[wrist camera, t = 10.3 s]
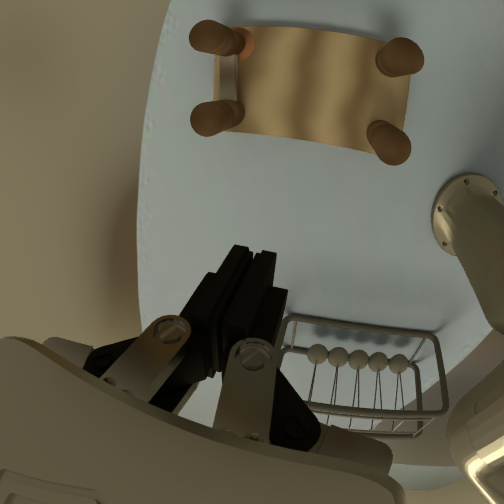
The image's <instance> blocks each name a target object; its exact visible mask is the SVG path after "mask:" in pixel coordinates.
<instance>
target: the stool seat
mask: <svg viewBox="0 0 504 504" xmlns="http://www.w3.org/2000/svg"><path fill="white" fill-rule="evenodd" d="M229 28H231V29H233V30H235V31H237V32H239V33H240V34H242V35H243V37H244V39H245V48H244V50H243V51H242V52H241V53H240V54H239V55H238V101H239V102H240V103H241V104H242V105H243V107H244V111H245V116H244V119H243V121H242V122H241V123H240V124H239V125H237V126H235V127H232V128H230V129H227V130H225V131H230V132H242V133H253V134H262V135H271V136H279V137H286V138H294V139H300V140H307V141H313V142H319V143H325V144H330V145H335V146H341V147H346V148H351V149H355V150H360V151H364V152H369V153H373V154H377V156H378V157H379V159H380V160H381V161H383V162H384V163H386V164H388V165H400V164H402V163H404V162H405V161H406V160H407V159H408V157H409V156H410V153H411V142H410V140H409V138H408V136H407V135H406V134H405V133H404V132H403V125H404V119H405V113H406V106H407V99H408V92H409V83H410V74H414V73H417V72H419V71H420V70H421V69H422V67H423V65H424V55H423V52H422V50H421V49H420V47H419V46H418V45H417V44H416V43H415V42H413V41H412V40H410V39H407V38H402V37H399V38H395V39H393V40H391V41H390V42H389V43H387V42H383V41H379V40H374V39H370V38H365V37H360V36H355V35H350V34H344V33H338V32H331V31H324V30H315V29H306V28H293V27H274V26H238V27H229ZM218 100H220V56H219V55H215V71H214V99H213V101H218Z"/></svg>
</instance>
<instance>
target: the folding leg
mask: <svg viewBox="0 0 504 504" xmlns="http://www.w3.org/2000/svg"><path fill="white" fill-rule="evenodd" d="M189 42H190V44H191V46H192V47H193V48H194V49H195V50H197V51H200V52H205V53H210V54H215V55H219V56H220V100H218V101H211V102H205V103H201V104H199V105H197V106H196V107H195V108H194V109H193V111H192V113H191V116H190V122H191V126H192V128H193V129H194V131H195V132H196V133H197V134H199V135H201V136H205V137H209V136H213V135H215V134H218V133H220V132H222V131H225V130H227V129H230V128H232V127H235V126H237V125H239V124H240V123H241V122H242V121H243V119H244V116H245V111H244V107H243V105H242V104H241V103H240V102H239V101H238V55H239V54H240V53H241V52H242V51H243V50H244V48H245V39H244V37H243V35H242V34H240V33H239V32H237V31H235V30H233V29H231V28H229V27H227V26H224V25H222V24H220V23H218V22H216V21H213V20H203V21H201V22H199V23H197V24H196V25H195V26H194V27H193V28H192V29H191V31H190V34H189Z"/></svg>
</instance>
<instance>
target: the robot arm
mask: <svg viewBox="0 0 504 504" xmlns="http://www.w3.org/2000/svg"><path fill="white" fill-rule="evenodd" d="M464 180H465V181H464ZM439 206H440V207H439ZM438 207H439V208H438ZM431 225H432V231H433V233H434V236H435V238H436V240H437V242H438V244H439V245H440V246H441V248H442V249H444V250H445V251H446V252H447V253H449V254H451V255H454V256H457V257H458V259H459V261H460V263H461V265H462V267H463V269H464V271H465V273H466V275H467V277H468V279H469V281H470V283H471V285H472V288H473V290H474V292H475V294H476V296H477V299H478V301H479V303H480V306H481V308H482V310H483V313H484V315H485V317H486V319H487V321H488V323H489V324H490V325H491V327H492V328H493V329H495V330H496V331H497V332H499V333H500V334H503V335H504V204H503V199H502V196H501V194H500V191H499V190H498V188H497V187H496V185H495V184H494V183H493V182H491V181H490V180H489V179H488V178H486V177H485V176H482V175H480V174H475V173H468V174H463V175H460V176H457V177H455V178H454V179H452V180H451V181H449V182H448V183H447V184H446V185H445V186H444V187H443V188H442V190H441V191H440V192H439V194H438V196H437V198H436V200H435V203H434V205H433V209H432V214H431ZM276 256H277V253H275V252H270V251H265V250H262V252H261V253H256V254H255V256H254V258H253V252H251V251H249V248H248V247H245V246H240V245H234V246H233V247H232V249H231V250H230V252H229V254H228V255H227V257H226V258H225V260H224V261H223V263H222V265H221V266H220V268H219V269H218V271H217V272H216V273H212V272H208V273H207V274H206V275H205V277H204V278H203V280H202V281H201V283H200V284H199V286H198V287H197V289H196V290H195V292H194V293H193V295H192V296H191V298H190V299H189V301H188V302H187V304H186V305H185V307H184V308H183V310H182V312H181V313H180V315H179V316H176V315H166V316H162V317H160V318H157V319H156V320H155V321H153V322H152V323H151V324H150V325H149V326H148V327H147V328H146V330H145V331H144V332H143V333H142V334H141V335H140V336H139V337H135V338H132V339H128V340H124V341H121V342H117V343H114V344H110V345H106V346H102V347H100V348H97V349H94V348H93V346H89V345H85V344H81V343H77V342H74V341H70V340H66V339H62V338H59V337H52V338H48V339H47V340H46V341H44V343H43V344H40V343H38V342H36V341H34V340H31V339H27V338H23V337H16V336H13V337H12V336H9V337H4V338H1V339H0V504H407V499H406V494H405V492H404V489H403V488H402V486H401V485H400V484H399V483H398V482H397V481H396V480H394V479H393V478H391V477H390V476H388V473H389V470H390V467H391V464H392V460H393V454H392V451H391V449H390V447H389V446H388V445H387V444H385V443H383V442H381V441H378V440H375V439H372V438H369V437H365V436H362V435H359V434H357V433H354V432H351V431H348V430H345V429H342V428H340V427H337V426H334V425H331V426H328V425H325V424H323V423H320V422H319V421H318V419H317V418H316V416H315V415H314V414H313V413H312V411H311V410H310V409H309V408H308V406H307V405H306V404H305V402H304V401H303V400H302V399H301V397H300V396H299V395H298V393H297V392H296V391H295V390H294V388H293V387H292V386H291V384H290V383H289V382H288V380H287V379H286V378H285V376H284V375H283V374H282V372H281V371H280V370H279V368H278V367H277V353H276V351H275V349H274V346H275V343H276V339H277V336H278V332H279V329H280V325H281V322H282V318H283V314H284V310H285V305H286V300H287V294H288V290H287V289H282V288H278V287H273V280H274V272H275V264H276ZM216 371H217V372H221V371H222V388H221V393H220V397H219V401H218V406H217V410H216V414H215V419H214V423H213V427H212V428H211V427H208V426H205V425H202V424H199V423H196V422H193V421H191V420H188V419H185V418H183V417H180V416H178V413H179V412H180V411H181V409H182V408H183V406H184V405H185V404H186V402H187V401H188V400H189V398H190V397H191V395H192V394H193V392H194V391H195V390H196V388H197V386H198V384H199V382H200V381H203V380H205V379H206V378H207V376H208V377H211V378H213V377H214V375H215V373H216ZM446 439H447V445H448V448H449V451H450V454H451V456H452V458H453V460H454V462H455V463H456V465H457V467H458V468H459V469H460V471H461V472H462V473H463V474H464V476H465V477H466V478H467V479H468V480H469V482H470V483H471V484H472V485H473V486H474V487H475V489H476V490H477V491H478V492H479V493H480V494H481V496H482V497H483V498H484V499H485V500H486V501H487V503H488V504H504V359H503V360H502V361H501V362H500V363H499V364H498V365H497V366H496V367H495V368H494V369H493V370H492V371H491V372H489V373H488V374H487V375H486V376H485V377H484V378H483V379H481V380H480V381H479V382H478V383H477V384H476V385H475V386H473V387H472V388H471V389H470V390H469V391H468V392H467V393H465V394H464V395H463V396H462V397H461V398H460V399H459V400H458V401H457V403H456V404H455V405H454V407H453V408H452V410H451V412H450V414H449V417H448V420H447V425H446Z"/></svg>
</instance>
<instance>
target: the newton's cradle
mask: <svg viewBox="0 0 504 504" xmlns="http://www.w3.org/2000/svg"><path fill="white" fill-rule="evenodd" d="M290 321H295V323H294V330H293V337H292V343H291V347H285V348H282V349H281V347H282V343H283V339H284V336H285V332H286V328H287V324H288V323H289V322H290ZM297 321H300V322H306V323H312V324H318V325H324V326H331V327H338V328H345V329H352V330H359V331H367V332H375V333H383V334H392V335H401V336H410V337H421V338H424V340H423V341H422V343H421V345H420V346H419V348H418V350H417V351H416V353H415V354H414V356H413V358H412V359H411V361H410V362H408V359H407V358H406V356H404V355H402V354H397V355H394V356H393V357H392V358H391V360H388V359H387V356H386V355H385V354H384V353H382V352H376V353H373V354H372V355H371V356H370V358H368V355H367V353H366V352H365V351H363V350H355V351H353V352H352V353H351V354H350V356H349V355H348V352H347V351H346V350H345V349H344V348H342V347H335V348H333V349H332V350H331V351H330V352H329V353H328V351H327V349H326V347H325V346H323V345H321V344H314V345H312V346H311V347H310V348H309V349H302V348H296V347H293V343H294V337H295V331H296V324H297ZM426 338H429V339H431V340H432V341H433V343H434V348H435V353H436V359H437V365H438V371H439V378H440V386H441V393H442V402H443V407H442V409H441V410H437V411H423V407H422V392H421V380H420V371H419V368H418V366H417V365H416V364H414V363H413V362H412V361H413V359H414V358H415V356H416V355H417V353H418V351H419V350H420V348H421V346H422V345H423V343H424V342H425V340H426ZM274 349H275V351H276V353H277V367H278V368H279V370H280V367H281V363H282V360H283V356H284V354H285V353H287V352H293V353H299V354H305V355H307V357H308V359H309V361H310V362H311V363H313V364H315V368H314V373H313V379H312V383H314V377H315V371H316V364H321V363H323V362H324V361H325V360H326V359H327V358H328V361H329V363H330V364H331V365H332V366H334V367H336V372H337V375H338V367H341V366H343V365H345V364H346V363H347V361H348V362H349V365H350V367H351V368H353V369H355V370H357V373H358V407H353V406H352V407H349V406H340V405H335V400H336V389H335V400H334V405H332V404H331V403H332V398H331V403H330V404H324V403H317V402H311V395H312V390H313V384H311V388H312V390H311V388H310V393H311V395H310V393H309V398H310V401H309V398H308V401H305V400H303V401H304V402H305V404H306V405H307V406H308V408H309V409H313V410H311V411H312V413H318V414H326V415H328V419H329V415H333V416H342V417H351V419H352V418H357V419H358V418H363V419H372V425H373V419H377V420H380V421H381V420H393V424H394V420H403V421H417V428H418V429H417V432H393V426H392V432H391V431H372V426H371V431H369V430H355V429H350V428H351V427H352V426H351V427H350V425H351V419H350V425H349V429H345V430H348V431H351V432H354V433H357V434H359V435H362V436H365V437H369V438H372V439H416V438H417V437H419V436H420V435H421V433H422V431H423V428H424V427H425V426H427V424H429V423H430V422H431V421H432V420H433V419H434V418H435V417H441V416H443V415H444V414H445V413H446V412H447V411H448V408H449V398H448V390H447V383H446V377H445V370H444V364H443V359H442V353H441V348H440V343H439V340H438V338H437V337H436V336H435V335H434V334H432V333H430V332H422V331H412V330H403V329H394V328H385V327H377V326H369V325H362V324H355V323H347V322H340V321H334V320H327V319H321V318H314V317H308V316H302V315H295V314H293V315H288V316H286V317H285V318H284V319H283V320H282V322H281V325H280V329H279V332H278V336H277V339H276V343H275V346H274ZM367 363H368V365H369V368H370V369H371V370H372V371H374V372H377V377H378V372H380V371H382V370H384V369H385V368H386V366H387V365H389V368H390V370H391V371H392V372H393V373H396V374H400V373H402V372H404V371H405V370H406V369H407V367H410V368H412V369H413V370H414V372H415V384H416V399H417V411H410V410H407V411H406V410H404V404H403V410H385V409H382V400H381V409H375V401H374V409H370V408H359V370H360V369H363V368H364V367H365V366H366V365H367ZM335 379H336V388H337V376H336V373H335ZM356 382H357V375H356ZM400 383H401V375H400ZM379 384H380V374H379ZM334 385H335V380H334ZM397 388H398V377H397ZM376 389H377V379H376ZM333 391H334V386H333ZM355 391H356V383H355ZM355 391H354V398H355ZM401 392H402V384H401ZM332 397H333V392H332ZM380 399H381V385H380ZM375 400H376V391H375ZM396 400H397V390H396ZM402 403H403V393H402ZM353 405H354V399H353ZM395 409H396V401H395ZM316 410H319V411H316ZM323 411H327V412H323ZM330 412H333V413H330ZM338 413H343V414H338ZM347 414H351V415H347ZM352 414H353V415H352ZM359 415H364V416H359ZM333 416H332V417H333ZM370 416H373V417H370ZM374 416H378V417H374ZM387 417H394V418H387ZM395 417H401V418H395ZM328 419H327V424H326V425H328V424H329V423H328ZM331 419H332V418H331ZM331 419H330V421H331ZM357 419H356V420H357ZM425 420H426V421H428V420H429V421H428V422H427V423H426V424H425V425H423V421H425ZM330 421H329V422H330ZM380 421H379V422H380ZM355 422H356V421H355ZM355 422H354V423H355ZM354 423H353V424H354ZM400 424H401V423H400ZM400 424H399V425H400ZM399 425H398V426H399ZM398 426H397V427H398ZM375 427H376V426H375ZM342 429H344V428H342Z"/></svg>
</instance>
